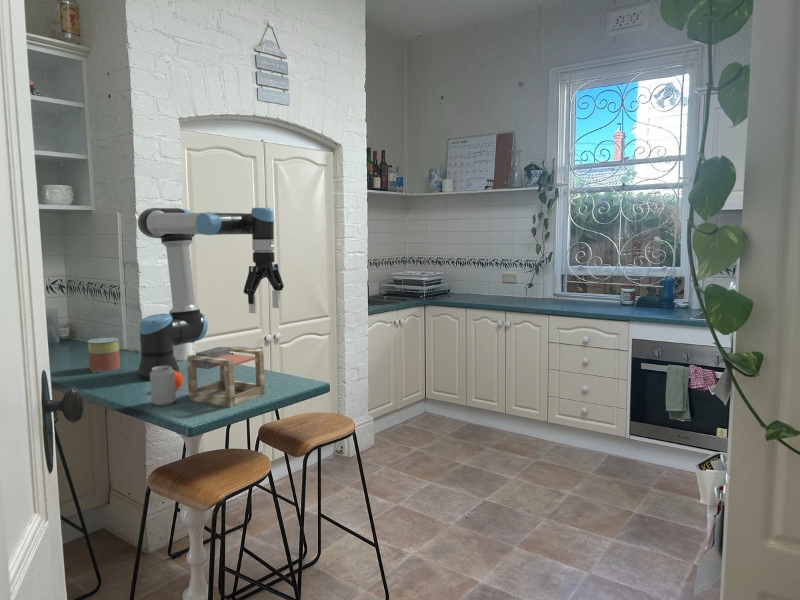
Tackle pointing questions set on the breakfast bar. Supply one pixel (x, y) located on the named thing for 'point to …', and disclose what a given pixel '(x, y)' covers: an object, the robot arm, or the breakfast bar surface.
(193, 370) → the frame
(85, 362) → the breakfast bar surface
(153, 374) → the can
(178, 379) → the clementine
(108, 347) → the canned food
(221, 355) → the grey and pink block
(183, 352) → the mug
